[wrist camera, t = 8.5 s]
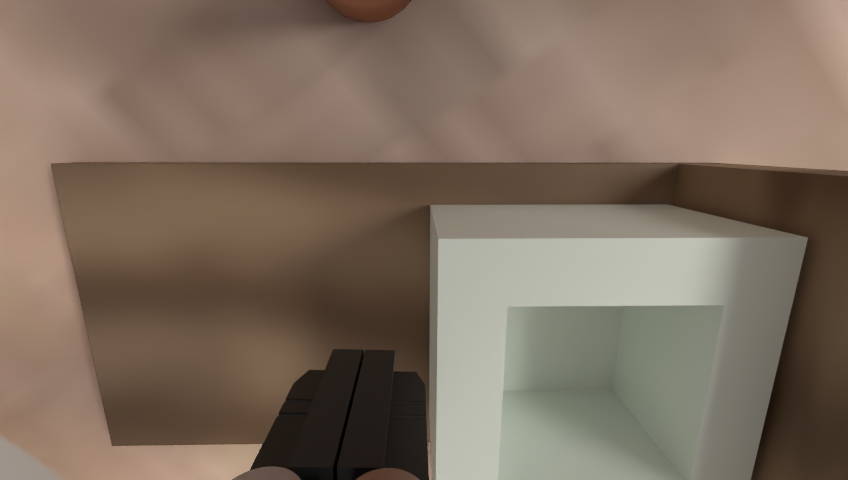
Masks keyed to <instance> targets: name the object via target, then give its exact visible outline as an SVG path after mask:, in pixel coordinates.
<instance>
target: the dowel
mask: <svg viewBox="0 0 848 480" xmlns="http://www.w3.org/2000/svg"><path fill="white" fill-rule="evenodd" d="M326 1H327V2H328V3H329V4H330V5H331V6H332V7H333V8H334V9H335V10H336V11H338V12H339V13H341V14H342V15H344V16H346V17H348V18H351V19H353V20H357V21H361V22H377V21H381V20H385V19H388V18H390V17H392V16H394V15H396V14H397V13H399V12H400V11H401V10H403V9H404V8H405V7H406V6H407V5H408V4H409V2H410V1H411V0H326Z"/></svg>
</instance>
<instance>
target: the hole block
mask: <svg viewBox="0 0 848 480" xmlns="http://www.w3.org/2000/svg"><path fill="white" fill-rule="evenodd" d="M807 240H808V237H803V236H799V235H795V234H791V233H787V232H782V231H778V230H774V229H770V228H765V227H761V226H757V225H753V224H748V223H744V222H740V221H736V220H732V219H727V218H723V217H719V216H715V215H710V214H706V213H702V212H698V211H693V210H689V209H685V208H681V207H677V206H672V205H668V204H591V205H430V343H429V421H430V441H431V462H432V480H751V477H752V472H753V468H754V464H755V460H756V456H757V451H758V447H759V443H760V439H761V434H762V430H763V426H764V422H765V418H766V413H767V409H768V405H769V401H770V396H771V392H772V388H773V384H774V380H775V375H776V371H777V367H778V363H779V359H780V354H781V350H782V346H783V342H784V337H785V333H786V329H787V325H788V321H789V316H790V312H791V308H792V304H793V299H794V295H795V291H796V287H797V283H798V278H799V274H800V270H801V266H802V262H803V257H804V253H805V249H806V245H807Z"/></svg>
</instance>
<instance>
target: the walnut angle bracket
mask: <svg viewBox="0 0 848 480" xmlns="http://www.w3.org/2000/svg"><path fill="white" fill-rule="evenodd" d="M51 167H52V172H53V176H54V181H55V186H56V190H57V195H58V199H59V204H60V208H61V213H62V218H63V222H64V227H65V231H66V236H67V241H68V245H69V250H70V254H71V259H72V264H73V268H74V273H75V277H76V282H77V287H78V291H79V296H80V300H81V305H82V310H83V314H84V319H85V323H86V328H87V333H88V337H89V342H90V346H91V351H92V356H93V360H94V365H95V369H96V374H97V379H98V383H99V388H100V392H101V397H102V402H103V406H104V411H105V415H106V420H107V424H108V429H109V434H110V438H111V443H112V446H132V445H207V444H263V443H264V441H265V439H266V437H267V435H268V433H269V431H270V429H271V427H272V425H273V423H274V421H275V419H276V417H277V416H278V415H279V411H280V409H281V407H282V405H283V403H284V402H285V400H286V397H287V395H288V393H289V391H290V389H291V387H292V385H293V383H294V382H295V381H297V380H298V379H299V378H300V377H301V376H302V375H304V374H305V373H306V372H307V371H308V370H325V368H326V366H327V363H328V361H329V358H330V356H331V353H332V351H333V349H360V350H364V352H365V350H395V351H396V367H395V371H405V372H417V374H418V375H419V377H420V378H421V380H422V381H423V382H424V384H425V388H426V419H427V442H431V441H430V421H429V343H430V205H591V204H668V205H672V206H677V207H681V208H685V209H689V210H693V211H698V212H702V213H706V214H710V215H715V216H719V217H723V218H727V219H732V220H736V221H740V222H744V223H748V224H753V225H757V226H761V227H765V228H770V229H774V230H778V231H782V232H787V233H791V234H795V235H799V236H803V237H808V240H807V245H806V249H805V253H804V257H803V262H802V266H801V270H800V274H799V278H798V283H797V287H796V291H795V295H794V299H793V304H792V308H791V312H790V316H789V321H788V325H787V329H786V333H785V337H784V342H783V346H782V350H781V354H780V359H779V363H778V367H777V371H776V375H775V380H774V384H773V388H772V392H771V396H770V401H769V405H768V409H767V413H766V418H765V422H764V426H763V430H762V434H761V439H760V443H759V447H758V451H757V456H756V460H755V464H754V468H753V472H752V477H751V480H848V171H839V170H823V169H806V168H790V167H773V166H757V165H740V164H723V163H143V162H73V163H54V164H51Z"/></svg>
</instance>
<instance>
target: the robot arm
mask: <svg viewBox="0 0 848 480" xmlns="http://www.w3.org/2000/svg"><path fill="white" fill-rule="evenodd" d="M395 367H396V351H395V350H365V352H364V350H360V349H333V351H332V353H331V356H330V358H329V361H328V363H327V366H326V368H325V370H308V371H307V372H306V373H305V374H304V375H302V376H301V377H300V378H299V379H298V380H297V381H295V382H294V383H293V385H292V387H291V389H290V391H289V393H288V395H287V397H286V400H285V402H284V403H283V405H282V407H281V409H280V411H279V415H278V416H277V417H276V419H275V421H274V423H273V425H272V427H271V429H270V431H269V433H268V435H267V437H266V439H265V441H264V443H263V445H262V447H261V449H260V451H259V453H258V455H257V457H256V459H255V461H254V463H253V465H252V467H251V469H250V471H248V472H245V473H243V474H241V475H239V476H237V477H236V478H234V479H233V480H429V476H428V449H427V419H426V388H425V384H424V382H423V381H422V380H421V378H420V377H419V375H418V374H417V372H405V371H395Z"/></svg>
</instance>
